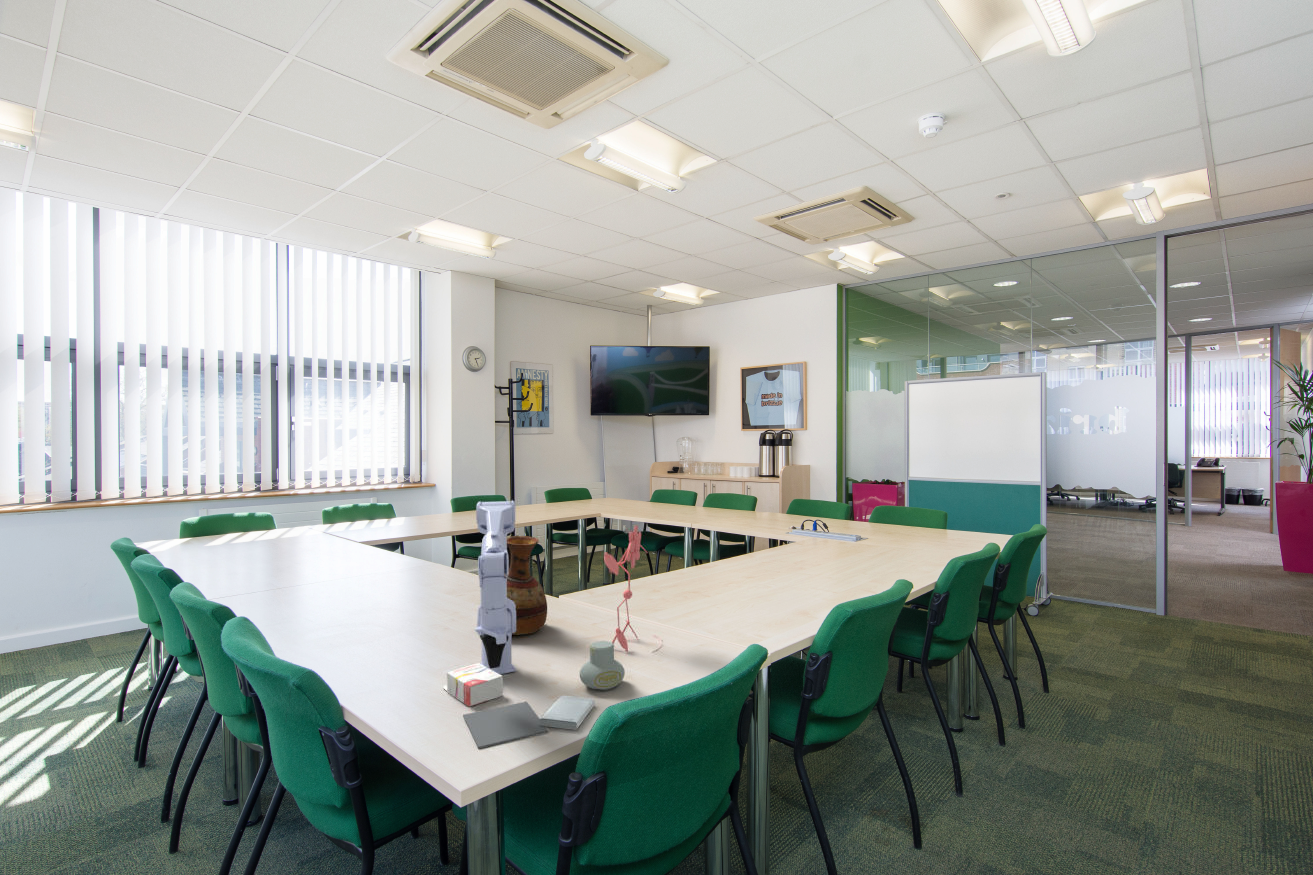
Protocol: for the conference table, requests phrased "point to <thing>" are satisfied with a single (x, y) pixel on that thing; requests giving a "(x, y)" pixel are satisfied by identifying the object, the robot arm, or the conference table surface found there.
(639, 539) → the pink thin stick figure
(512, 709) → the mat
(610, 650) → the air freshener
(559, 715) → the hard drive
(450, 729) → the conference table surface
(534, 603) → the ceramic pitcher
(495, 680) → the ink cartridge box
